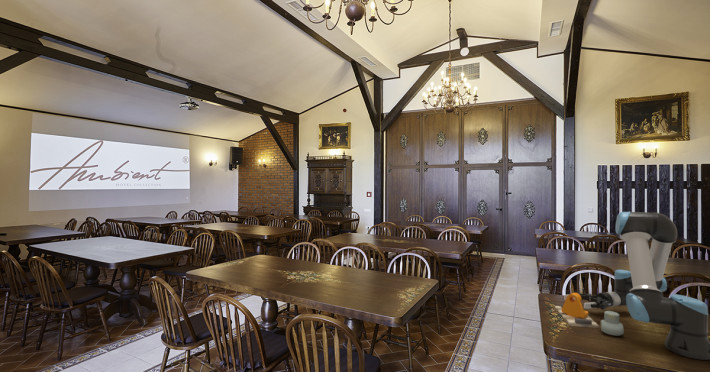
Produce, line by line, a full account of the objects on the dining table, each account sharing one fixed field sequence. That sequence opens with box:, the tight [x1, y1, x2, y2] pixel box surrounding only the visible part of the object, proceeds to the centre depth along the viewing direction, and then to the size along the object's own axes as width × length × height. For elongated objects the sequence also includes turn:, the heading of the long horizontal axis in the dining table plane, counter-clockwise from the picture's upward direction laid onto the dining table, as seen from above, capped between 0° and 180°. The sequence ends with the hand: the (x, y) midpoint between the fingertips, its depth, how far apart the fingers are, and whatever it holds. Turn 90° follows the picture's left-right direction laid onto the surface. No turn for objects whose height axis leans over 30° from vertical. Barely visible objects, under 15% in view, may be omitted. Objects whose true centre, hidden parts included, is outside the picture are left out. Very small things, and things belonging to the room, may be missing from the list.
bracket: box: [562, 292, 589, 318], centre depth 186 cm, size 11×7×12 cm, turn 36°
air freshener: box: [600, 310, 624, 337], centre depth 166 cm, size 11×8×10 cm
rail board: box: [554, 302, 600, 329], centre depth 186 cm, size 26×13×3 cm, turn 164°
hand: (574, 301), depth 186 cm, fingers open, 13 cm apart
